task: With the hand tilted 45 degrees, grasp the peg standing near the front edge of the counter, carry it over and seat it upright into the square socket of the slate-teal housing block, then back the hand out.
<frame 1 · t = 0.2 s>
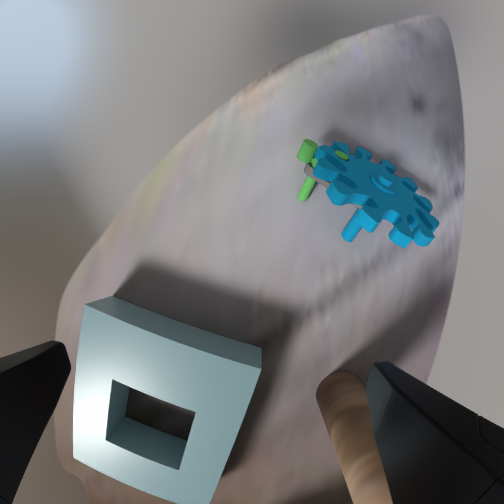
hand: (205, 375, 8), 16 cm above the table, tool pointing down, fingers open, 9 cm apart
gear: (355, 195, 23), on the table
housing: (162, 403, 23), on the table
peg: (339, 392, 23), on the table
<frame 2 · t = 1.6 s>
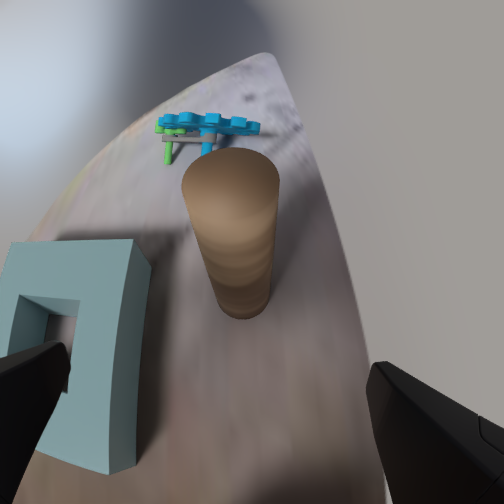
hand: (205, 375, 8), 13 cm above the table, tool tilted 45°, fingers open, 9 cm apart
gear: (209, 154, 31), on the table
housing: (70, 354, 20), on the table
peg: (242, 294, 23), on the table
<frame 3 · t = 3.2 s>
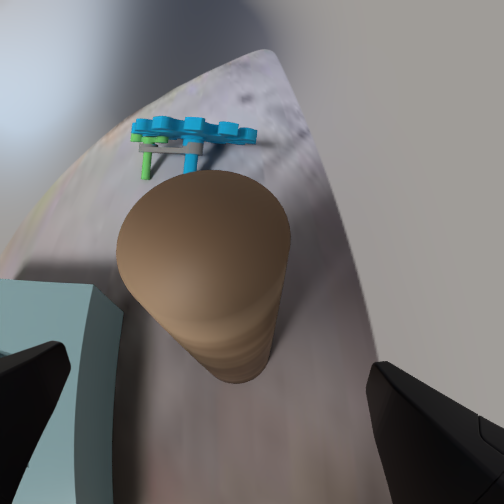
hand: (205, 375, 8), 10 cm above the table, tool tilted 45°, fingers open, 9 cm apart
gear: (195, 167, 26), on the table
housing: (36, 409, 15), on the table
peg: (235, 351, 17), on the table
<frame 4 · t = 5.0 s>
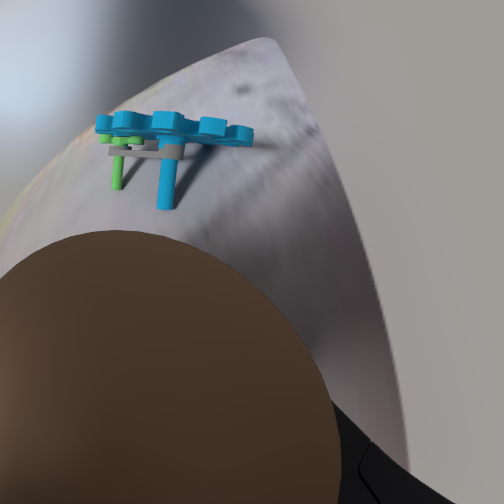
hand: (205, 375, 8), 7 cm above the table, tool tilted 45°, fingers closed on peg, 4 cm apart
gear: (177, 174, 21), on the table
peg: (226, 419, 13), on the table, touching gripper
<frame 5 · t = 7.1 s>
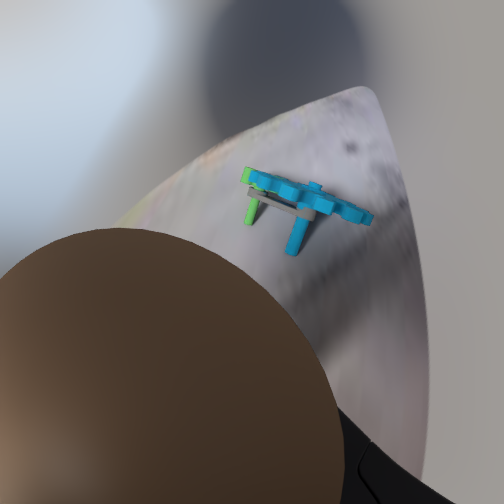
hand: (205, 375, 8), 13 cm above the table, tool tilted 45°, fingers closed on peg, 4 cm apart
gear: (299, 223, 26), on the table
peg: (227, 418, 13), point 7 cm above the table, touching gripper
when the fingers open (8 cm above the table, at t = 9.4 s): peg drops 2 cm, resting in housing.
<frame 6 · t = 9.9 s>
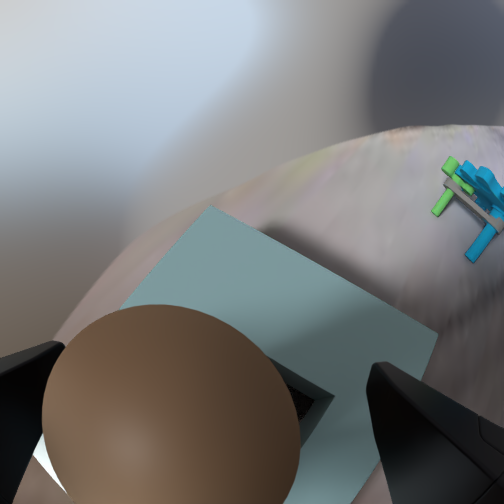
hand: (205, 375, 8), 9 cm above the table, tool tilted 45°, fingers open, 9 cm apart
gear: (474, 233, 20), on the table
housing: (230, 417, 14), on the table
peg: (230, 418, 14), resting in housing
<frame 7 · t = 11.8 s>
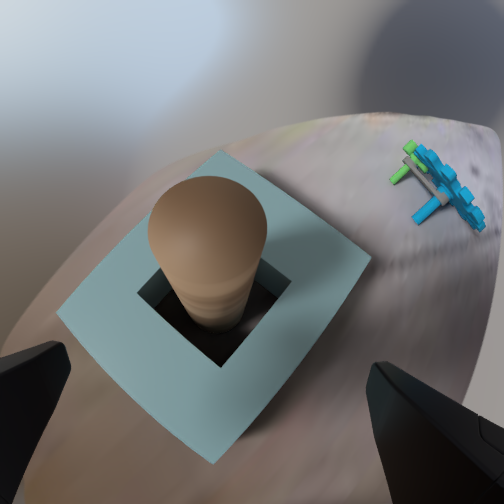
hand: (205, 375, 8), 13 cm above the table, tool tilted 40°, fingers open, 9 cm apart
gear: (425, 204, 27), on the table
housing: (216, 304, 21), on the table
peg: (216, 305, 21), resting in housing
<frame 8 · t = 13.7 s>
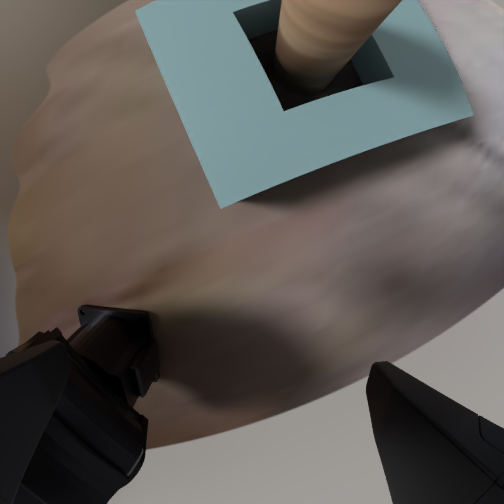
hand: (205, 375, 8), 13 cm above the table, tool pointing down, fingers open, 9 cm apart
housing: (304, 65, 17), on the table
peg: (304, 66, 17), resting in housing
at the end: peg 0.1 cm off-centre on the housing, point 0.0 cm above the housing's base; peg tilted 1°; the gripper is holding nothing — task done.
